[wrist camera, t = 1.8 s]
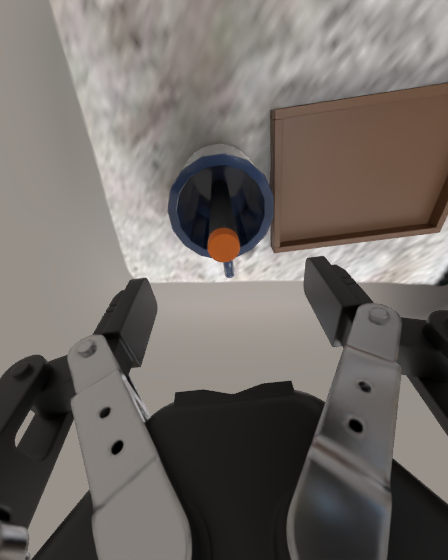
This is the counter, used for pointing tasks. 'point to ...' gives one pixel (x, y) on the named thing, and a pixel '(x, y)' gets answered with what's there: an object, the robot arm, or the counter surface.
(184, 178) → the mug
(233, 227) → the marker
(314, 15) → the counter surface
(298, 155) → the tray
